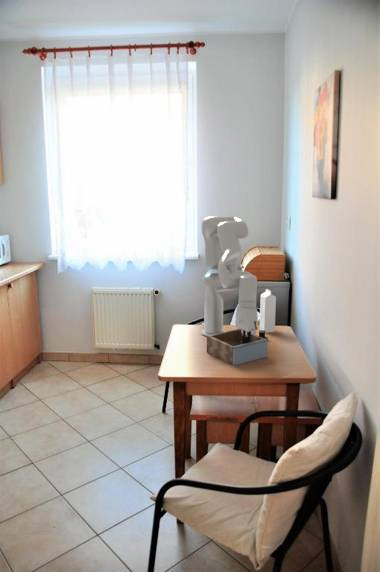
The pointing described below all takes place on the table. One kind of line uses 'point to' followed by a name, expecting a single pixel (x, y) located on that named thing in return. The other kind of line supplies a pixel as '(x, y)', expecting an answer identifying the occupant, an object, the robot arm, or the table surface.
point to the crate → (226, 344)
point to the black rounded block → (262, 334)
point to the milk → (267, 311)
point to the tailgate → (249, 351)
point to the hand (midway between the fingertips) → (246, 344)
